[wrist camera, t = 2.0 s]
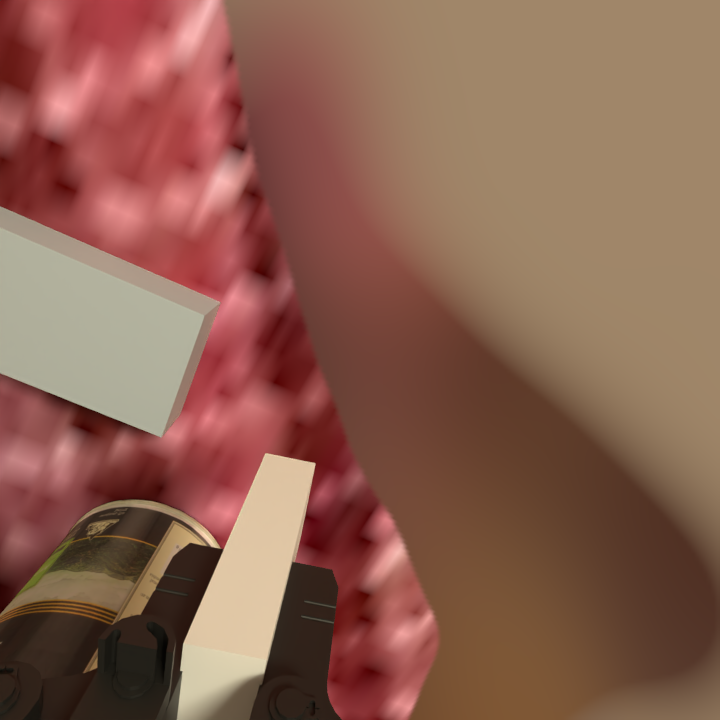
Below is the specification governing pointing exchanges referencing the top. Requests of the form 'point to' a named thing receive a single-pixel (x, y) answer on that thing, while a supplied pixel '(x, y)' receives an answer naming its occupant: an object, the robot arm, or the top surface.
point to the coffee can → (94, 584)
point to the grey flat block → (97, 326)
